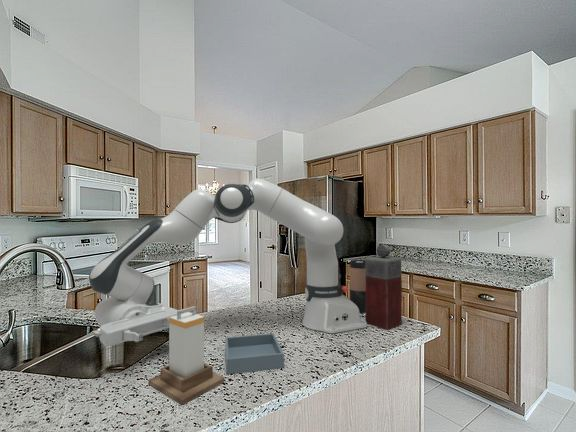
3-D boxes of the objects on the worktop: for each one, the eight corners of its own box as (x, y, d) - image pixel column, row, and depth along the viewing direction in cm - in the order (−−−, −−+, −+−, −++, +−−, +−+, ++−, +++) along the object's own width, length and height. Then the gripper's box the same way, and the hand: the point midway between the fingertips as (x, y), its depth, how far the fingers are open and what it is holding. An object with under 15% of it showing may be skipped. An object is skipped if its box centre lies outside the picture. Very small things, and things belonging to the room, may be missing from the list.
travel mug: (372, 310, 125) (372, 261, 126) (363, 314, 120) (363, 263, 120) (355, 306, 131) (355, 259, 131) (346, 310, 125) (346, 261, 125)
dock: (148, 384, 70) (148, 368, 70) (190, 365, 78) (190, 351, 79) (182, 405, 62) (182, 387, 62) (224, 381, 71) (224, 366, 71)
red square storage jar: (405, 323, 110) (405, 244, 110) (387, 330, 103) (387, 246, 103) (383, 316, 117) (383, 243, 117) (365, 323, 110) (365, 244, 110)
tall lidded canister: (168, 379, 70) (169, 308, 70) (188, 370, 74) (188, 303, 74) (184, 387, 66) (185, 313, 66) (204, 378, 70) (204, 308, 70)
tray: (273, 345, 91) (273, 333, 91) (283, 367, 77) (283, 353, 77) (225, 349, 88) (225, 337, 88) (226, 374, 74) (226, 359, 74)
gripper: (89, 319, 78) (115, 331, 69) (164, 301, 94) (192, 309, 85) (89, 344, 77) (115, 359, 69) (164, 322, 94) (192, 332, 85)
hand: (158, 331), depth 77 cm, fingers open, 8 cm apart
